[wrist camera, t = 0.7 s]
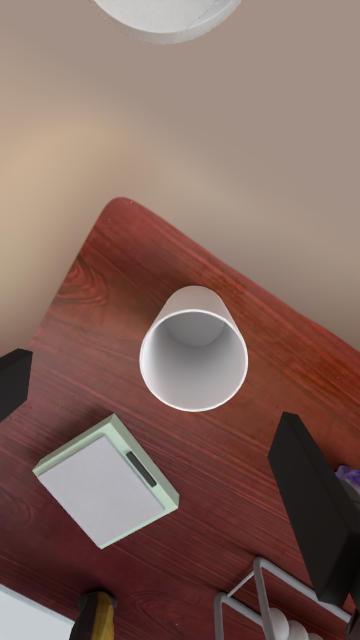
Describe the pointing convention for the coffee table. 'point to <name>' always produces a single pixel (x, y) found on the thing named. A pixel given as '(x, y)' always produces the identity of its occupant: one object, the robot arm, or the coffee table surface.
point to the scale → (107, 482)
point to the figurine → (94, 617)
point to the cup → (194, 352)
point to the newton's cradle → (278, 632)
